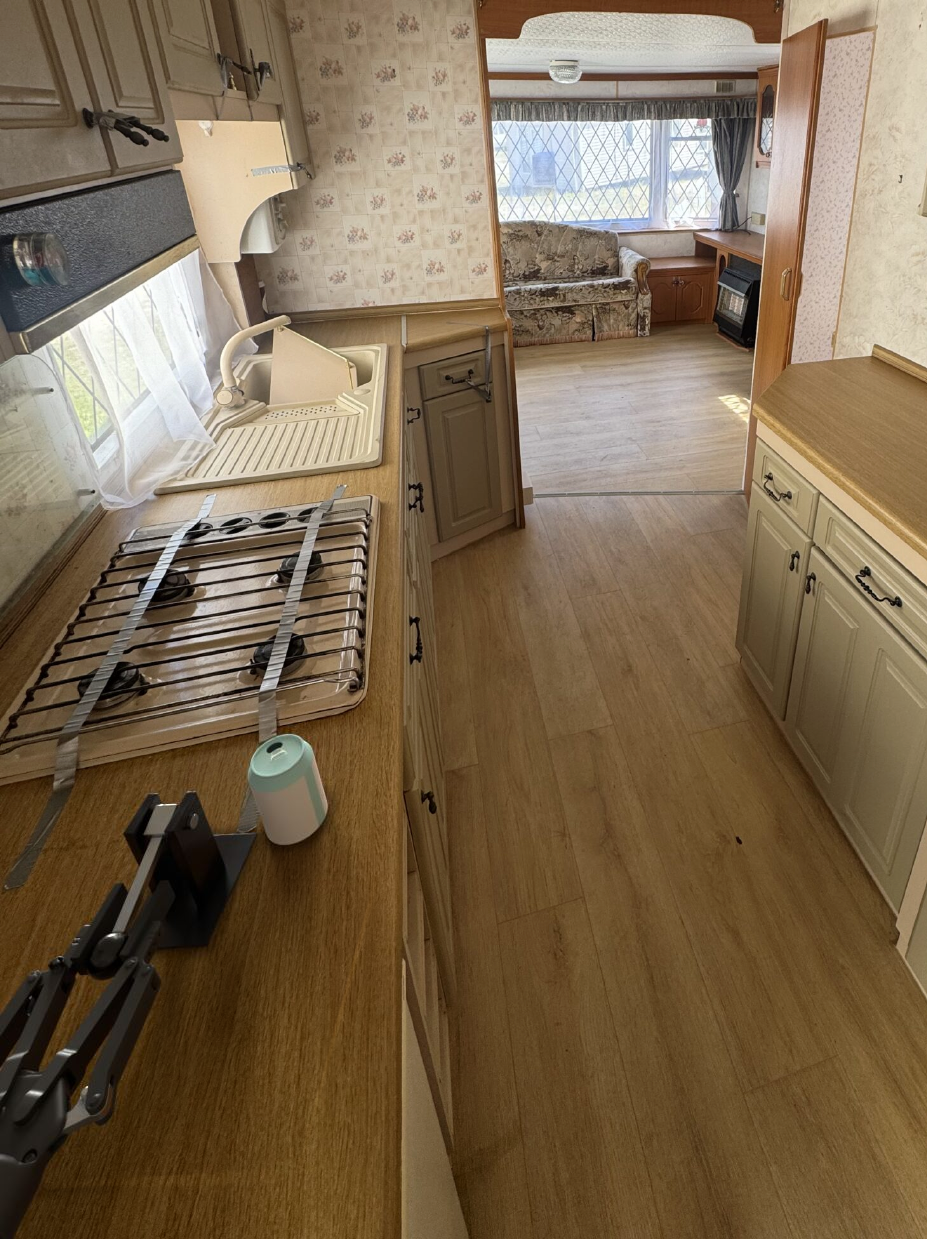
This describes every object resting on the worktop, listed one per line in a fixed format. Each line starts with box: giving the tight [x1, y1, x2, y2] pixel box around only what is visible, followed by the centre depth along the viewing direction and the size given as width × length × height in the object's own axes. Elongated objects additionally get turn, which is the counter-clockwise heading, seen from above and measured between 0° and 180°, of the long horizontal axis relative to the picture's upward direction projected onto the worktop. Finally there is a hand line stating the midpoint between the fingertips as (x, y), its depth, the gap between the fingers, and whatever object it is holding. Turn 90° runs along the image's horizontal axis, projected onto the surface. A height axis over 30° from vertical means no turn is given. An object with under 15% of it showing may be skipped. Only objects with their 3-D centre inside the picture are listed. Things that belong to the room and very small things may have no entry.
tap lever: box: [86, 803, 179, 982], centre depth 65 cm, size 14×4×4 cm, turn 3°
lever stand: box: [122, 791, 259, 950], centre depth 71 cm, size 12×9×14 cm
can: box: [247, 733, 329, 846], centre depth 79 cm, size 7×7×12 cm
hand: (145, 890), depth 66 cm, fingers closed on tap lever, 4 cm apart
